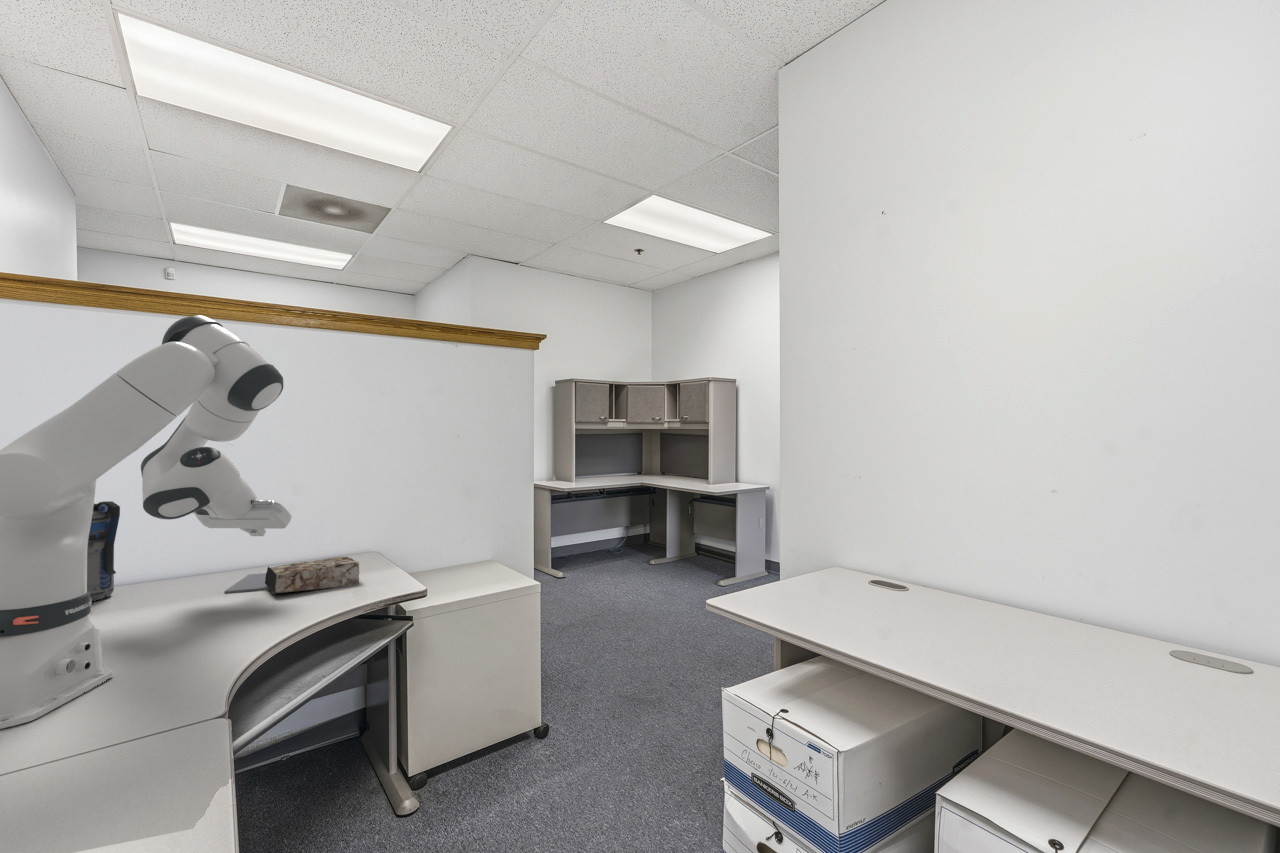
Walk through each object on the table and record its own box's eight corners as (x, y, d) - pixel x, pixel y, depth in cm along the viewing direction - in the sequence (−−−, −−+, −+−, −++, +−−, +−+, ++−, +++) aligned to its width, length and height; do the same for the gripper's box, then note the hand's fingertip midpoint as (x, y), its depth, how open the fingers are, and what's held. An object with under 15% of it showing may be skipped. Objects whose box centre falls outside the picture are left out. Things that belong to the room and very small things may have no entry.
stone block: (274, 601, 136) (360, 587, 150) (275, 573, 136) (362, 562, 150) (264, 585, 146) (346, 573, 160) (265, 559, 145) (347, 550, 159)
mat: (304, 586, 146) (304, 584, 146) (224, 593, 140) (224, 591, 140) (319, 570, 163) (319, 568, 163) (248, 576, 157) (248, 574, 157)
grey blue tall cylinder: (97, 605, 131) (98, 501, 131) (39, 606, 130) (40, 502, 131) (134, 593, 141) (135, 496, 142) (80, 594, 141) (81, 497, 141)
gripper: (282, 490, 135) (304, 524, 145) (198, 490, 135) (226, 524, 144) (270, 511, 131) (294, 544, 140) (183, 510, 130) (212, 544, 140)
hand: (259, 534), depth 142 cm, fingers closed
